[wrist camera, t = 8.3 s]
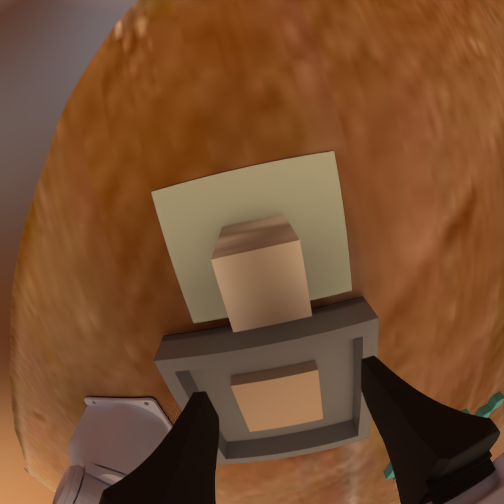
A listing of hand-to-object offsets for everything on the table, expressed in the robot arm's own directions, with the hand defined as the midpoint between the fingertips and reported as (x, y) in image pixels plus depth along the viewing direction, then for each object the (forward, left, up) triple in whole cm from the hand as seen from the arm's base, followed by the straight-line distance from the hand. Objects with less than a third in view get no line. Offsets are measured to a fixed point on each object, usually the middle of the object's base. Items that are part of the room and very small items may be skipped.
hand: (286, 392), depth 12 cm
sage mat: (0, +4, -9) cm, 10 cm away
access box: (-1, -10, -9) cm, 13 cm away
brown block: (0, +4, -9) cm, 10 cm away
